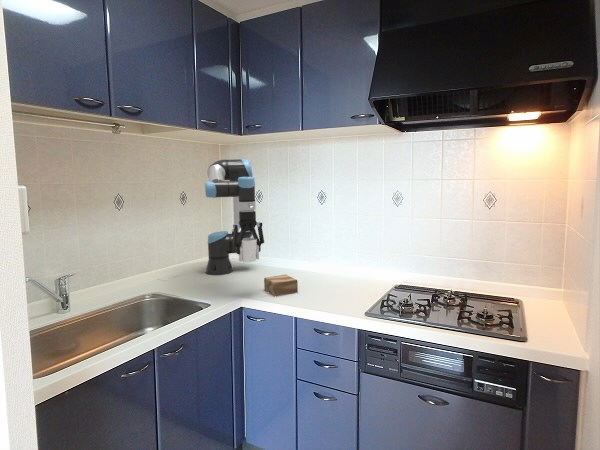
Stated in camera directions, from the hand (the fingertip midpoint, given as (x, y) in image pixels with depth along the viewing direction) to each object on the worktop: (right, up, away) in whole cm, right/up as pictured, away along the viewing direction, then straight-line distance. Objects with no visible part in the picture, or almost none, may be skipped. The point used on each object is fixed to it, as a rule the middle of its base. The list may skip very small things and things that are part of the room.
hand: (249, 259), depth 179 cm
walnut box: (+14, -16, +8) cm, 23 cm away
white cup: (0, 0, 0) cm, 1 cm away
